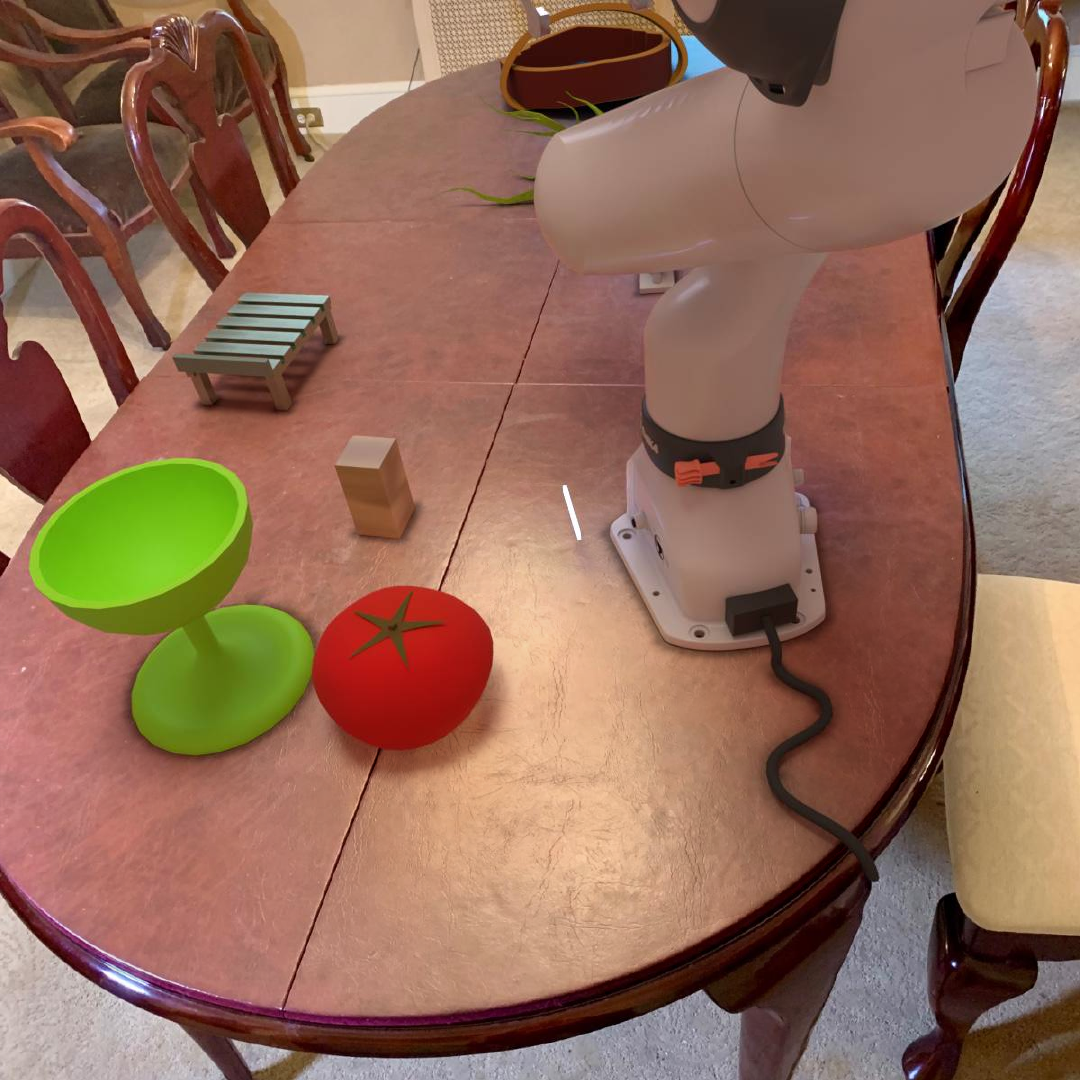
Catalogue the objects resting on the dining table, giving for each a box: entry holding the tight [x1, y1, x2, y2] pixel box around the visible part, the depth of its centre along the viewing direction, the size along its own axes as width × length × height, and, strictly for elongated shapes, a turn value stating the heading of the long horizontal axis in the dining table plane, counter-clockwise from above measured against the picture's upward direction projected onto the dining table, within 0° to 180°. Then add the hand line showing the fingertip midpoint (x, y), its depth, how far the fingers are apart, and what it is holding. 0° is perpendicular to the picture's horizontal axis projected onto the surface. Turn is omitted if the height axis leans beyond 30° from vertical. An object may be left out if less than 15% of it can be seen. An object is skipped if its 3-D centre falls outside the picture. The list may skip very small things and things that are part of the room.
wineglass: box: [28, 457, 315, 756], centre depth 76 cm, size 16×16×18 cm
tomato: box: [311, 585, 495, 752], centre depth 74 cm, size 14×13×10 cm
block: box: [334, 434, 416, 540], centre depth 91 cm, size 4×4×9 cm
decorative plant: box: [430, 91, 604, 205], centre depth 138 cm, size 18×30×15 cm, turn 61°
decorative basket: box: [499, 1, 689, 111], centre depth 166 cm, size 34×29×15 cm
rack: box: [171, 292, 340, 411], centre depth 113 cm, size 17×12×8 cm
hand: (590, 21), depth 81 cm, fingers open, 8 cm apart
